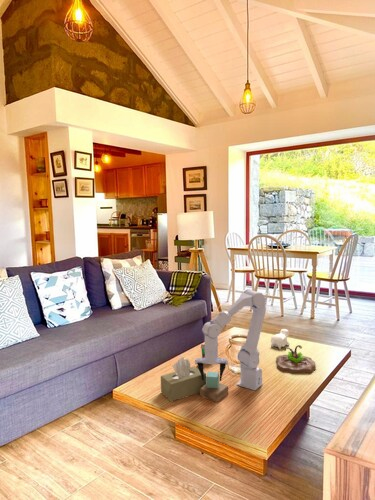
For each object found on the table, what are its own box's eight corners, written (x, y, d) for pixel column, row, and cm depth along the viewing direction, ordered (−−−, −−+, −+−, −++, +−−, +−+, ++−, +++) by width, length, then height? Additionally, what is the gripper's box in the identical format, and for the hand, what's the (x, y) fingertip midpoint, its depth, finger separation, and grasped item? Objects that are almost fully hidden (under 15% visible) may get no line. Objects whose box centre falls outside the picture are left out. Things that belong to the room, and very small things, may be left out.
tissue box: (195, 382, 171) (194, 350, 170) (207, 390, 163) (206, 356, 162) (160, 393, 161) (159, 359, 160) (170, 402, 153) (170, 366, 152)
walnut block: (228, 394, 159) (228, 386, 159) (217, 403, 152) (217, 394, 152) (211, 389, 165) (211, 380, 164) (199, 397, 158) (199, 388, 157)
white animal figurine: (283, 354, 210) (294, 338, 220) (281, 342, 207) (291, 327, 217) (270, 351, 216) (281, 336, 226) (267, 339, 213) (278, 324, 223)
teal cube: (219, 382, 162) (218, 372, 161) (217, 388, 157) (217, 377, 156) (208, 382, 163) (207, 371, 162) (206, 387, 158) (206, 376, 157)
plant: (318, 375, 176) (318, 353, 175) (276, 372, 180) (277, 351, 179) (313, 359, 195) (313, 339, 194) (276, 357, 199) (276, 337, 198)
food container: (210, 365, 190) (210, 346, 189) (201, 362, 194) (200, 344, 193) (222, 357, 200) (222, 340, 199) (213, 355, 204) (213, 338, 203)
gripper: (227, 346, 161) (228, 375, 162) (195, 346, 163) (196, 375, 164) (227, 352, 154) (228, 383, 155) (194, 352, 156) (194, 382, 157)
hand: (211, 379), depth 159 cm, fingers open, 7 cm apart
